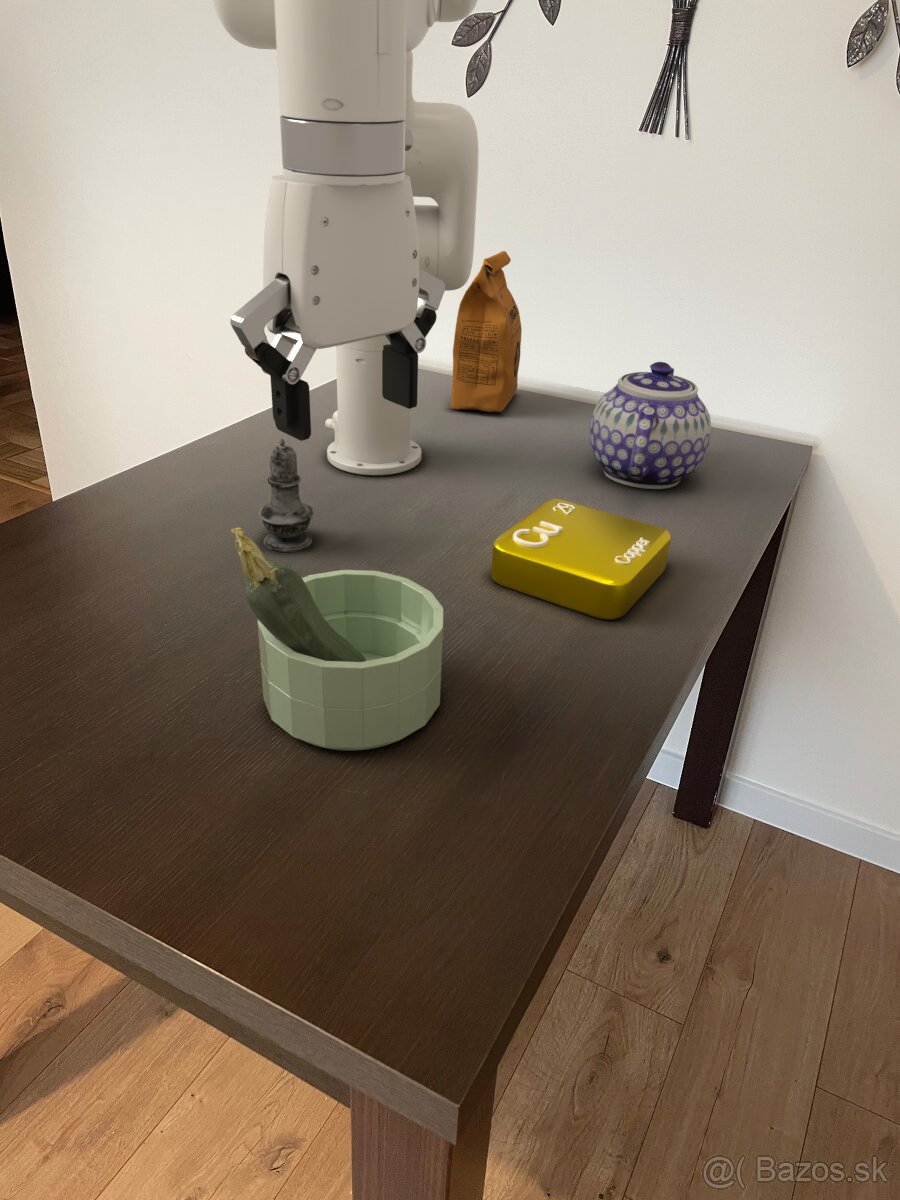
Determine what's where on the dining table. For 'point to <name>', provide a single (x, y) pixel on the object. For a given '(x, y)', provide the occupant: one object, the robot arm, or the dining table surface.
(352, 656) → the vegetable
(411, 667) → the bowl
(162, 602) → the dining table surface
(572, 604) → the element tile
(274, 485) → the salt shaker
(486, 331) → the coffee package
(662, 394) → the teapot
